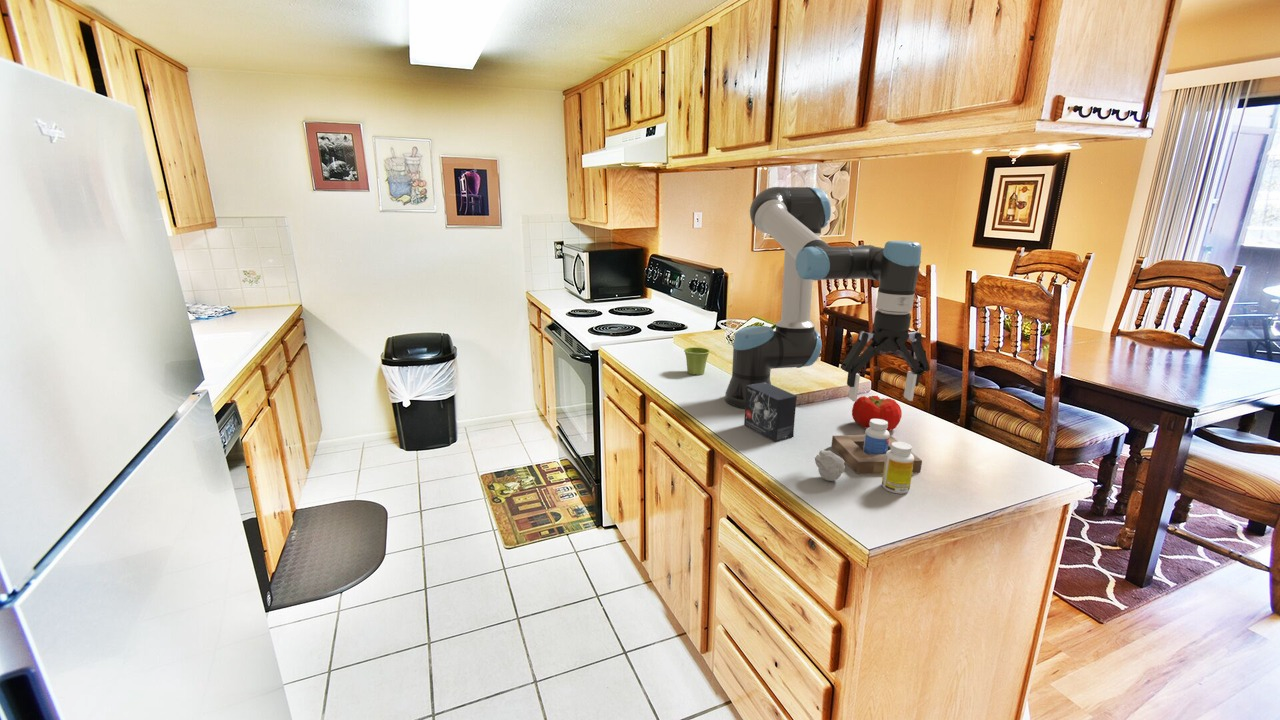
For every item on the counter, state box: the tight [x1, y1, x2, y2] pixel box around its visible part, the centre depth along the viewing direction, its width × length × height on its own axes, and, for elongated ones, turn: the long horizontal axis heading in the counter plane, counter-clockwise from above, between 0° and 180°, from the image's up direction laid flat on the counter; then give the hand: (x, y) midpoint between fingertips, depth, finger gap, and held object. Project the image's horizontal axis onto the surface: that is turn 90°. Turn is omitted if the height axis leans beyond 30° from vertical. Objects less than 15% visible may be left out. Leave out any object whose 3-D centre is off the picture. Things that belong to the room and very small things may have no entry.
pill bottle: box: [863, 419, 891, 455], centre depth 132 cm, size 6×5×10 cm
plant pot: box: [683, 346, 711, 376], centre depth 200 cm, size 9×9×9 cm
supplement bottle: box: [881, 441, 914, 495], centre depth 118 cm, size 6×6×10 cm
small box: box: [743, 382, 798, 443], centre depth 148 cm, size 13×7×12 cm, turn 28°
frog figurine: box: [814, 449, 846, 482], centre depth 122 cm, size 6×7×7 cm
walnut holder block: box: [830, 434, 923, 475], centre depth 133 cm, size 15×15×3 cm
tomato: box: [851, 395, 903, 432], centre depth 152 cm, size 13×12×8 cm
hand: (880, 399), depth 130 cm, fingers open, 13 cm apart
